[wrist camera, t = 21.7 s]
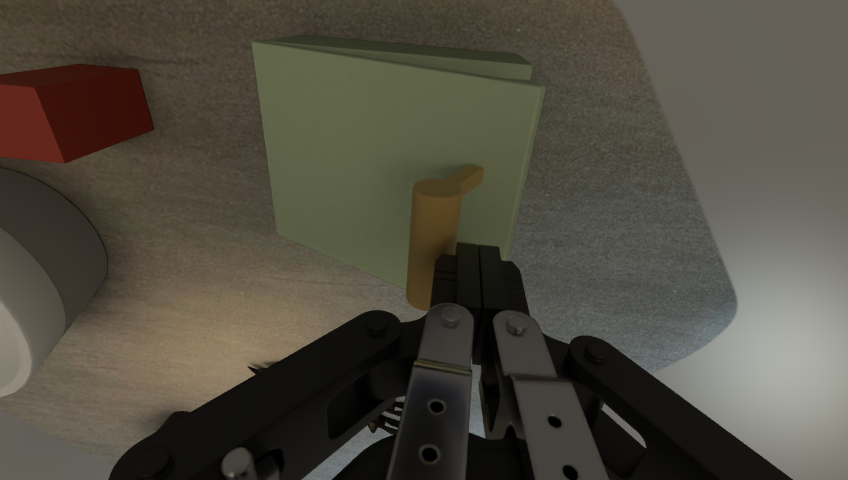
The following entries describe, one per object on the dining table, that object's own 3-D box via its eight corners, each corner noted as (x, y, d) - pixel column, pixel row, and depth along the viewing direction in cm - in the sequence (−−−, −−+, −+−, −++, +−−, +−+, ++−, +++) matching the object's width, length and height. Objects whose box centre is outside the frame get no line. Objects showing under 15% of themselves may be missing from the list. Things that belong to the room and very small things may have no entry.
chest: (518, 54, 26) (533, 64, 20) (490, 211, 32) (496, 251, 26) (302, 34, 26) (260, 40, 21) (313, 192, 32) (283, 229, 27)
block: (79, 63, 29) (-43, 79, 22) (137, 69, 28) (33, 87, 22) (100, 124, 31) (-5, 156, 24) (154, 129, 31) (64, 163, 24)
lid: (547, 84, 15) (497, 103, 11) (495, 318, 21) (451, 386, 17) (263, 40, 21) (164, 42, 17) (285, 229, 27) (216, 264, 23)
